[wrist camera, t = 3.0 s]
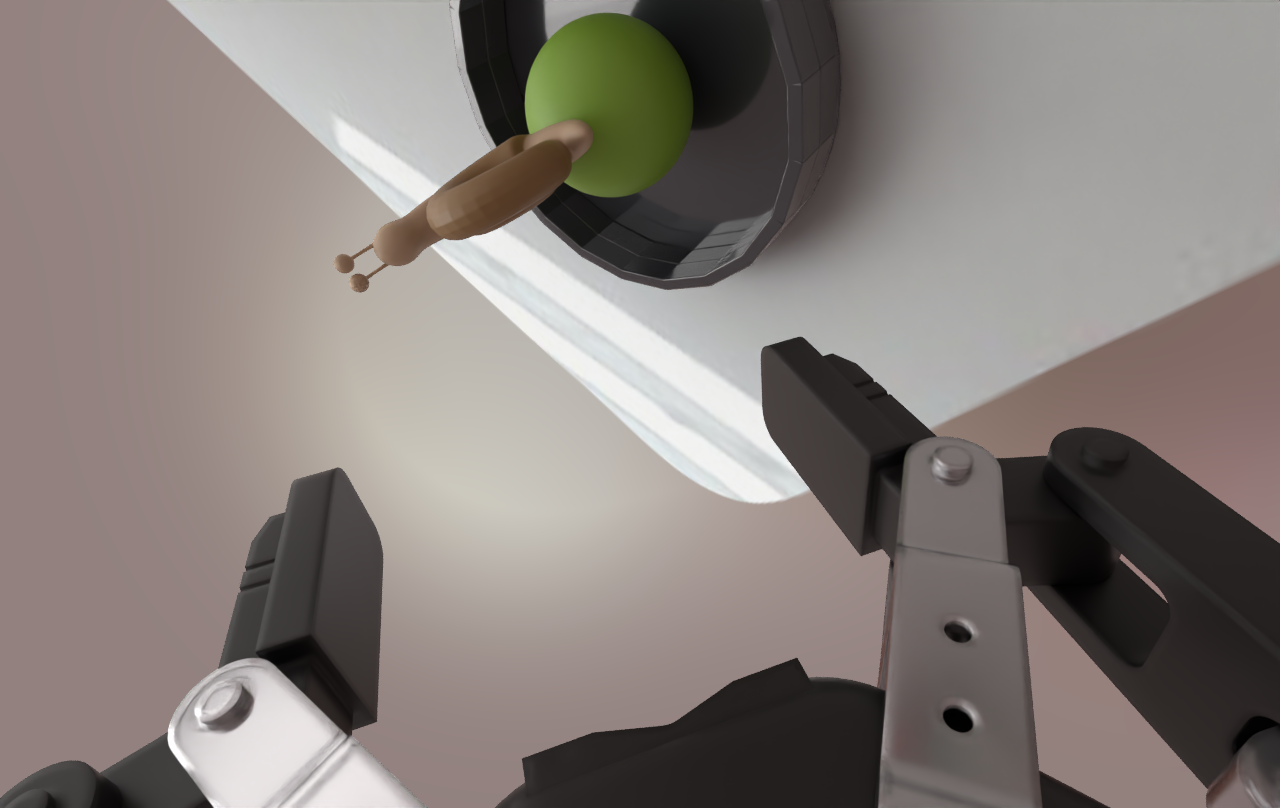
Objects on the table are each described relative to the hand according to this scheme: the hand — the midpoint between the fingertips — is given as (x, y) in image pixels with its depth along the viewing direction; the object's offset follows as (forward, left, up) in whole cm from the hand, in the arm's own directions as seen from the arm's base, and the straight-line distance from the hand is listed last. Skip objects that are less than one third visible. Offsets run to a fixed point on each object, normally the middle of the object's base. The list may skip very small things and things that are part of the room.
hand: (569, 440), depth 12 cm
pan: (-8, +1, -14) cm, 16 cm away
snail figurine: (-8, +1, -14) cm, 16 cm away
